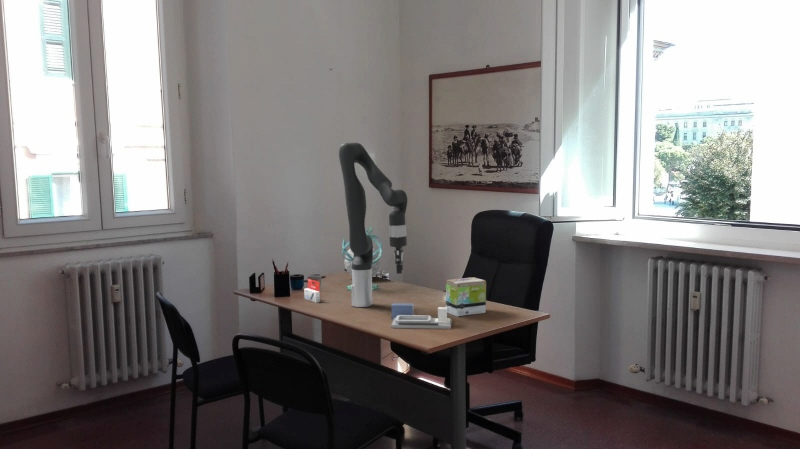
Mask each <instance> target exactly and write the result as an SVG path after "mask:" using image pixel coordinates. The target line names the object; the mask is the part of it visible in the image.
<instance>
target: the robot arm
mask: <svg viewBox="0 0 800 449" xmlns="http://www.w3.org/2000/svg"><path fill="white" fill-rule="evenodd" d="M338 157H339V164H340V168H341V172H342V180H343V186H344V196H345V205H346V214H347V220H348V230H349V232H348V234H349V241H348V242H349V249H351V251H352V252H353V253H354V258H353V262H352V276H351V285H352V286H351V290H350V291H351V307H357V308H367V307H370V306H373V291H372V284H373V276H372V261H373V248H374V244H373V243H374V242H373V239H371V238H370V236H369V235H367V233H366V227H365V226H366V224H365V222H366V221H365V220H366V215H367V197H366V196H367V195H366V191H365V188H364V186H363V184H362V183H361V181H360V179H359V178H358V175H357V173H356V168H355V164H356V163H357V164H359V165H360V166H361V167H362V168H363V169H364V171H365V172H366V175H367V176H366V177H367V179H368V181H369V183H370V184H371V185H372V186H373V187H374V188H375V190H377V191H378V192H379V194H380V196H381V198H382V200H383V202H384V203H385V204H386V205H387V206H389V207H393V211H391V212H390V213H389V214H388V220H389V222H388V224H389V225H388V226H389V230H388V232H389V233H388V234H389V246H390V248H395V249H394V251H393V253H394V254H393V255H394V261H395V262H394V263H395V266H396V274H398V275H399V274H402V273H403V270H404V269H403V268H404V266H403V262H404V249H403V247H406V246H407V245H408V238H407V227H406V212H407V207H408V195H407V193H406V192H405V190H403V189H393V182H392V181H391V179H389V177H387V176H386V175H385V173H383V172H382V171H381V169H380V168H379V167H378V165H377V163H375V161H374V160H373V158H372V157H371V155H370V154H369V153H368V152H367V150H366V148H365V147H364V146H363V145H362V144H361V143H359V142H344V143H342V144H341V145H340V147H339V148H338Z"/></svg>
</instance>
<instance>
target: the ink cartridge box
mask: <svg viewBox="0 0 800 449" xmlns="http://www.w3.org/2000/svg"><path fill="white" fill-rule="evenodd" d="M320 284H321V283H320V281H319V280H318V281H317V280H314V279H310V278H307V288H306V287H305V288H304V289H303V290H304V294H303V295H304V299H305V300H307V301H310V302H314V303H321V293H320V286H321V285H320Z"/></svg>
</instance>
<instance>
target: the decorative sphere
mask: <svg viewBox="0 0 800 449" xmlns="http://www.w3.org/2000/svg"><path fill="white" fill-rule="evenodd" d="M376 251H377V250H376V248H374V247H373V253H375V252H376ZM347 252H348V254H349V255H350V256H352V257H353V258H354V253H353V252H352V251H351V249H350V248H349V249H348V250H347ZM378 256H379V252H378V253H376V254H375V255H374V256H373V261H374V260H375V259H376V258H377V257H378ZM344 257H346V258H348V259H350V258H349V257H348V256H347V255H346V254H345V255H344ZM380 264H381V258H380V259H379V260H378V261H377V262H376V263H374V264H372V277H373V276H374V275H375V274H376V273H377V272H378V269H379V268H380ZM344 267H345V271H347V273H348V274H349V275H350V276H351V277H352V261H348V260H346V259H345V258H344Z"/></svg>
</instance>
